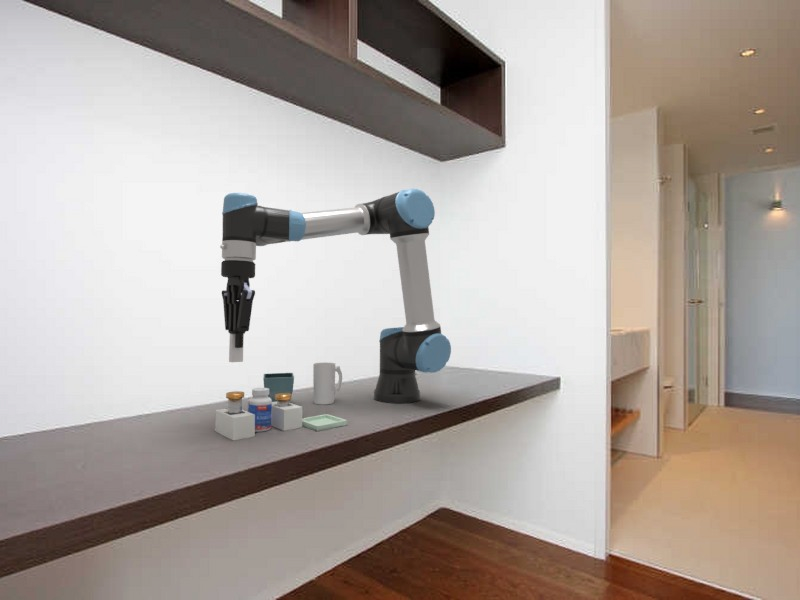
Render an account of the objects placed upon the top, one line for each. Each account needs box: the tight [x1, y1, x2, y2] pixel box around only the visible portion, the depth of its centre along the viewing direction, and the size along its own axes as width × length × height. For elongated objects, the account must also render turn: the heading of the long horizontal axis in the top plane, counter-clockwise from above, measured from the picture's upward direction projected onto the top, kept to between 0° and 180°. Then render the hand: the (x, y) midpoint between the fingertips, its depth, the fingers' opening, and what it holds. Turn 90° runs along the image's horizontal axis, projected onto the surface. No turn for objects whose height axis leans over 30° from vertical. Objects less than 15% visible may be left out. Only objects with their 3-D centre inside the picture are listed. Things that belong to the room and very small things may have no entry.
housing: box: [214, 401, 304, 441], centre depth 113 cm, size 18×10×5 cm, turn 133°
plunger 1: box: [225, 390, 245, 415], centre depth 109 cm, size 4×4×7 cm
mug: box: [312, 362, 343, 405], centre depth 146 cm, size 10×7×12 cm, turn 132°
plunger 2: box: [275, 393, 293, 407], centre depth 117 cm, size 4×4×7 cm
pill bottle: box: [247, 387, 272, 433], centre depth 113 cm, size 6×5×10 cm
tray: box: [302, 413, 348, 432], centre depth 118 cm, size 9×9×1 cm
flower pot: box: [263, 372, 295, 402], centre depth 141 cm, size 9×9×9 cm
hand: (236, 361), depth 109 cm, fingers closed
